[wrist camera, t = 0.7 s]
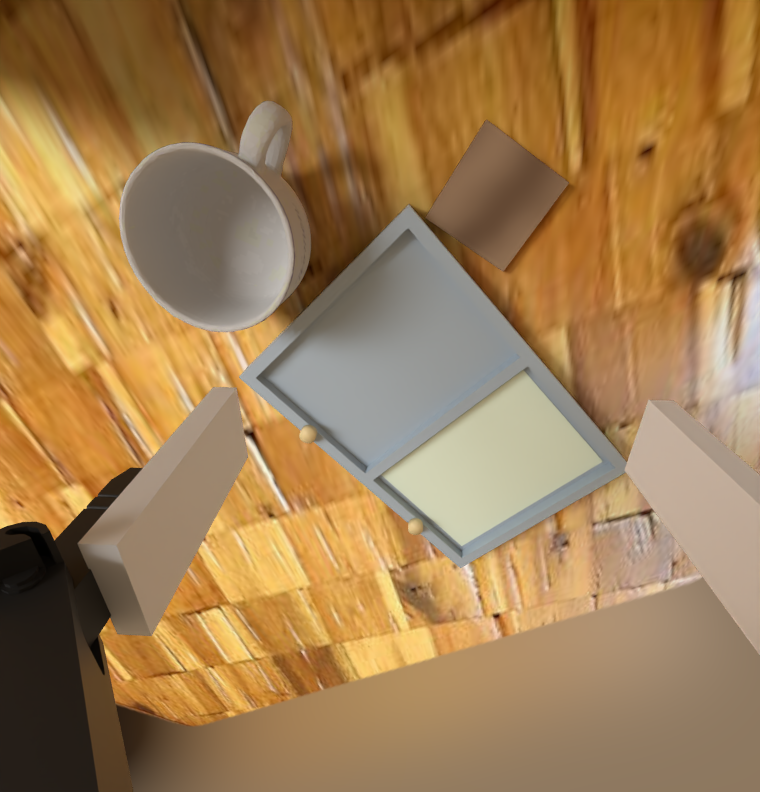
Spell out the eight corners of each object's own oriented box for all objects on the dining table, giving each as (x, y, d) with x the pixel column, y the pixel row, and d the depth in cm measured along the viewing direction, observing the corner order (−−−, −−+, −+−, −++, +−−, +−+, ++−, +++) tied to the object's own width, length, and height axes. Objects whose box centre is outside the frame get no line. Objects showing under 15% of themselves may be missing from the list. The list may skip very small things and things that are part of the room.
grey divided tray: (246, 368, 38) (233, 382, 35) (409, 203, 31) (409, 206, 28) (456, 552, 46) (459, 575, 44) (620, 454, 39) (636, 474, 37)
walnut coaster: (425, 216, 32) (425, 218, 31) (483, 121, 29) (486, 119, 28) (500, 268, 33) (503, 271, 32) (563, 182, 30) (569, 182, 29)
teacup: (263, 328, 36) (227, 365, 29) (151, 232, 33) (81, 247, 26) (378, 196, 31) (368, 202, 24) (258, 69, 28) (206, 32, 21)
